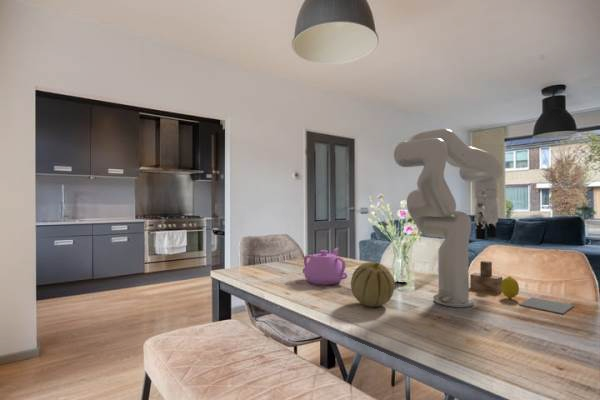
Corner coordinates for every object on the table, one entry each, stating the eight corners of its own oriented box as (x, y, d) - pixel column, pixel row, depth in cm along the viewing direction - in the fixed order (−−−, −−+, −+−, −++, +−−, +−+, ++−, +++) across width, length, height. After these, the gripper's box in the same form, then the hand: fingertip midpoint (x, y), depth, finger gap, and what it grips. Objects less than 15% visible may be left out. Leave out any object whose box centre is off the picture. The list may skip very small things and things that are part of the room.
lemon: (521, 301, 121) (521, 278, 121) (504, 300, 122) (504, 277, 122) (515, 296, 126) (515, 274, 126) (498, 296, 127) (498, 274, 127)
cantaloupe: (366, 296, 128) (366, 256, 128) (403, 305, 118) (402, 261, 118) (341, 305, 118) (341, 261, 118) (378, 316, 107) (378, 267, 107)
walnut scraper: (502, 291, 135) (502, 262, 135) (497, 293, 132) (497, 264, 132) (476, 286, 142) (475, 259, 142) (470, 288, 139) (470, 260, 139)
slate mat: (563, 314, 107) (562, 313, 107) (519, 305, 116) (519, 304, 116) (573, 306, 115) (573, 305, 115) (532, 298, 124) (531, 297, 124)
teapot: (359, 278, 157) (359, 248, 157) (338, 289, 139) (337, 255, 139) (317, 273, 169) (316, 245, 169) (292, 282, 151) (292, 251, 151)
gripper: (486, 194, 128) (486, 240, 129) (505, 194, 139) (505, 237, 139) (465, 194, 134) (466, 239, 134) (485, 194, 145) (485, 235, 145)
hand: (486, 238), depth 137 cm, fingers open, 9 cm apart
